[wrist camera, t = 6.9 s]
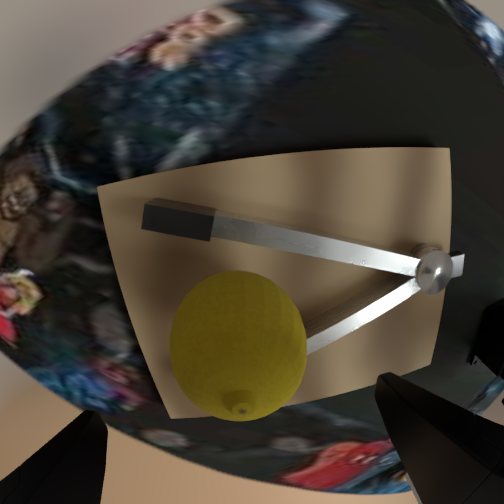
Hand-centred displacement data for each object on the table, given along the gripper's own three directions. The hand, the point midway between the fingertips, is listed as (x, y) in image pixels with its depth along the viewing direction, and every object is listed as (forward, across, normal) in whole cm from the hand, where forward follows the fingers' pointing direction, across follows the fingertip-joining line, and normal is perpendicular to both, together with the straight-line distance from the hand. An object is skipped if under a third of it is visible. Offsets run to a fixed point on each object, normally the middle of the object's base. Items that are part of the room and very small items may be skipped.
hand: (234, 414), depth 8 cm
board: (+9, -4, +1) cm, 10 cm away
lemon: (+8, 0, 0) cm, 8 cm away
